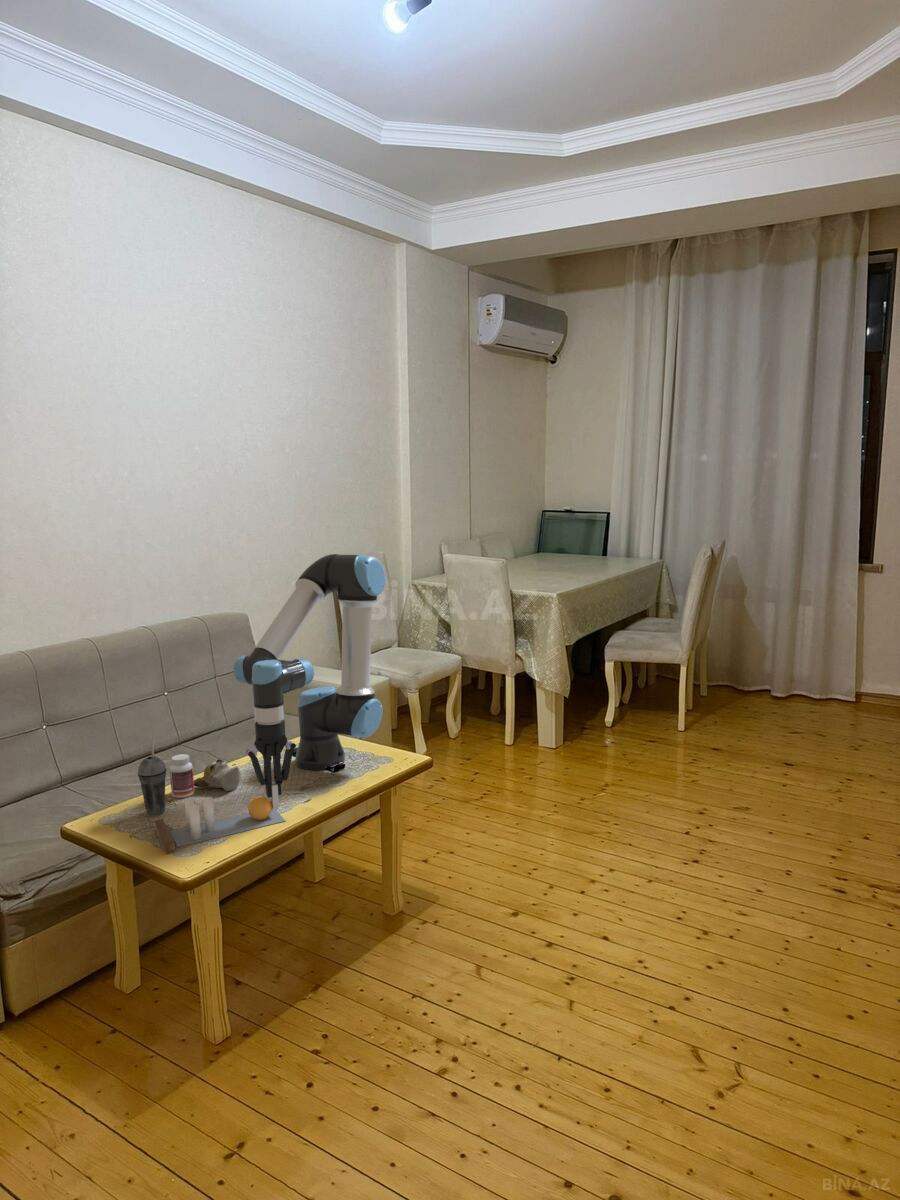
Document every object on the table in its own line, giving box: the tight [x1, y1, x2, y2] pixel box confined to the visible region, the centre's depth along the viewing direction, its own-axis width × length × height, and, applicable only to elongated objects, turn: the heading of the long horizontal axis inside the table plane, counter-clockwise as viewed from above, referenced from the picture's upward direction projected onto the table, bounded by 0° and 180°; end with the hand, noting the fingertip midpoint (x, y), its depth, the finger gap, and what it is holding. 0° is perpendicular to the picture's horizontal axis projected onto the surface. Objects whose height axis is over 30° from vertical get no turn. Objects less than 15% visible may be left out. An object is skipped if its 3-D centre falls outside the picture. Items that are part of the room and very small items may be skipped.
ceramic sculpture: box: [194, 758, 242, 792], centre depth 230 cm, size 11×9×15 cm
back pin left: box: [189, 803, 201, 840], centre depth 197 cm, size 2×2×8 cm
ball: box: [247, 795, 272, 820], centre depth 208 cm, size 6×6×6 cm
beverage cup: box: [137, 739, 167, 817], centre depth 212 cm, size 7×7×20 cm
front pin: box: [202, 796, 215, 832], centre depth 201 cm, size 2×2×8 cm
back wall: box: [154, 818, 176, 855], centre depth 196 cm, size 2×14×3 cm, turn 30°
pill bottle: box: [169, 753, 195, 799], centre depth 225 cm, size 6×6×11 cm
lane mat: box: [169, 809, 286, 848], centre depth 204 cm, size 27×10×1 cm, turn 120°
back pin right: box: [184, 796, 196, 832], centre depth 201 cm, size 2×2×8 cm
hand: (274, 807), depth 209 cm, fingers closed
